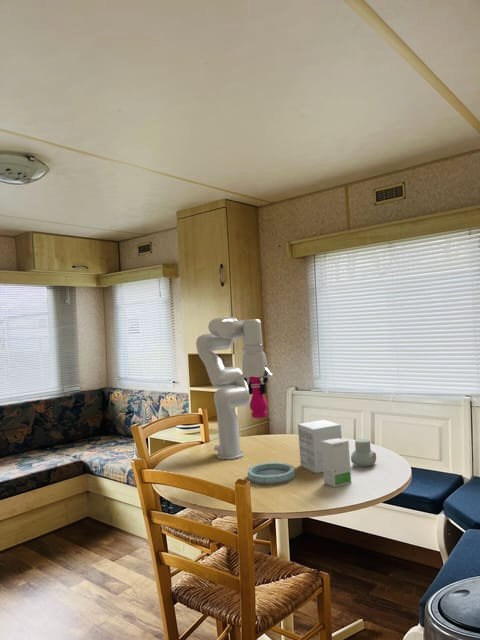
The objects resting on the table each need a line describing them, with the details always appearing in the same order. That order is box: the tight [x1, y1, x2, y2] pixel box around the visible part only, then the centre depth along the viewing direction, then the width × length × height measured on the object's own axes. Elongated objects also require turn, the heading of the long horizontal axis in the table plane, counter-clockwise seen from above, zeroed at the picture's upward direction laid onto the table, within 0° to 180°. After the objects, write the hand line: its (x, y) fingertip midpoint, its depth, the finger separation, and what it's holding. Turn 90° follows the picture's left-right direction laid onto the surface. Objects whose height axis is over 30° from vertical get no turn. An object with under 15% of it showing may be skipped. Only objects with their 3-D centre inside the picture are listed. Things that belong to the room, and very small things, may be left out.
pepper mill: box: [249, 376, 268, 419], centre depth 196 cm, size 7×7×20 cm
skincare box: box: [321, 438, 352, 488], centre depth 176 cm, size 8×7×16 cm
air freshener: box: [350, 438, 377, 468], centre depth 195 cm, size 11×8×10 cm
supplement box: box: [297, 419, 343, 474], centre depth 197 cm, size 13×13×18 cm
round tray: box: [247, 461, 296, 486], centre depth 188 cm, size 18×18×3 cm
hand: (257, 393), depth 196 cm, fingers closed on pepper mill, 5 cm apart
